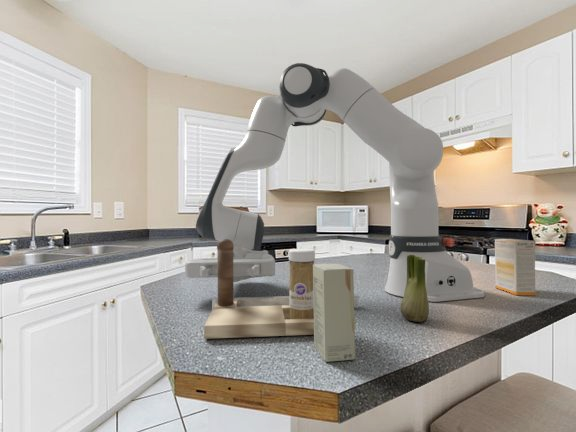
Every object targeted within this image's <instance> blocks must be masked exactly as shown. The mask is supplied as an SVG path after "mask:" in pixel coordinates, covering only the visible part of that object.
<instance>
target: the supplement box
mask: <svg viewBox="0 0 576 432" xmlns="http://www.w3.org/2000/svg"><path fill="white" fill-rule="evenodd" d="M535 244H536V241H535V240H530V239H529V240H528V239H527V240H526V239H517V238H494V273H495V274H494V275H495V277H494V278H495V280H494V282H495V284H494V285H495V286H494V287H495V289H497V288H498V289H497V290H500V289H501V290H500V291H503V290H504V291H503V292H506V291H507V292H506V293H509V292H510V293H509V294H512V295H515V296H536V245H535Z"/></svg>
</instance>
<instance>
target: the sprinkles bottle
mask: <svg viewBox="0 0 576 432" xmlns="http://www.w3.org/2000/svg"><path fill="white" fill-rule="evenodd" d="M315 260H316V250H314V249H311V248H291V249H290V250H289V251H288V263H289V292H288V293H289V295H288V296H289V304H290V318H289V319H314V298H313V265H314V264H315Z"/></svg>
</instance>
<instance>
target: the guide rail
mask: <svg viewBox="0 0 576 432" xmlns="http://www.w3.org/2000/svg"><path fill="white" fill-rule="evenodd" d="M234 301H237V307H245V306H277V305H290V304H289V295H284V296H282V295H281V296H280V295H279V296H276V295H275V296H250V297H249V296H248V297H243V296H242V297H234ZM216 302H218V297H217V298H215V297H213V298H212V299H211V311H212V310H213V308H214V306H215V304H216ZM358 308H359V295H358V294H356V293H354V309H358Z"/></svg>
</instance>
